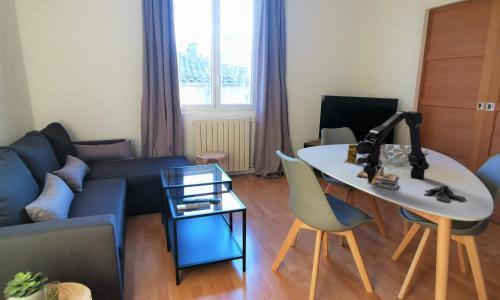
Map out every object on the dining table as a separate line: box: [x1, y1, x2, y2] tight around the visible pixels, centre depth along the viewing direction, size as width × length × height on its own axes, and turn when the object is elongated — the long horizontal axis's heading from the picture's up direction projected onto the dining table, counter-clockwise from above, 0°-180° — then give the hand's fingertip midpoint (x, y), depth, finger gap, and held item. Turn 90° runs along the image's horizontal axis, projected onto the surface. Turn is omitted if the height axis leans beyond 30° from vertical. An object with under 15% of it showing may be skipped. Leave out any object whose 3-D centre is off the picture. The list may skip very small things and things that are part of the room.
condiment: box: [342, 143, 358, 165], centre depth 209 cm, size 7×8×12 cm
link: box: [366, 173, 399, 191], centre depth 164 cm, size 15×9×6 cm, turn 57°
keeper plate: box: [356, 165, 398, 183], centre depth 178 cm, size 20×13×7 cm, turn 57°
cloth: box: [423, 185, 466, 204], centre depth 151 cm, size 22×19×6 cm
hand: (371, 180), depth 167 cm, fingers open, 9 cm apart
